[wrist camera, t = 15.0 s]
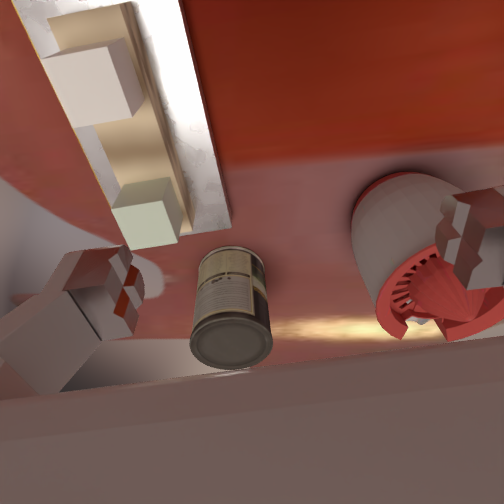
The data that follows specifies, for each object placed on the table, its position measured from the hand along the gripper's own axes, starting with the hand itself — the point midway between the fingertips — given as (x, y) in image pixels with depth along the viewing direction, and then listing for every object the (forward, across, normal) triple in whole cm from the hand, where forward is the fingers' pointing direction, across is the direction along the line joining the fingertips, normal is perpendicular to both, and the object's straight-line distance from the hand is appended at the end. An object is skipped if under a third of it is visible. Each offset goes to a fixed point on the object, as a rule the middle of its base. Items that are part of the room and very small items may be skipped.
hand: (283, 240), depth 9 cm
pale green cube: (+27, +12, +12) cm, 32 cm away
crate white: (+27, +12, -1) cm, 29 cm away
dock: (+34, +12, +6) cm, 36 cm away
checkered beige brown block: (+31, +12, +6) cm, 33 cm away
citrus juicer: (+34, -17, +24) cm, 44 cm away
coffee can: (+34, +7, +30) cm, 45 cm away
